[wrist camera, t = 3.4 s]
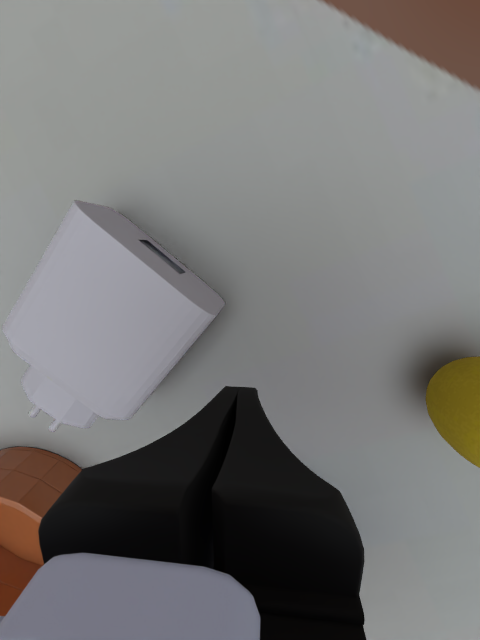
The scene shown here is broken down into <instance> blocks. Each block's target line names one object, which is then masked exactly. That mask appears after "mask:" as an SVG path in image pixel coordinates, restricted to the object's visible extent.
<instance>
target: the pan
mask: <svg viewBox="0 0 480 640" xmlns="http://www.w3.org/2000/svg"><path fill="white" fill-rule="evenodd" d="M81 471H82V469H81V468H79V467H78V466H77V465H75V464H74V463H72V462H70V461H69V460H67V459H65V458H63V457H61V456H59V455H57V454H54V453H52V452H49V451H46V450H42V449H38V448H31V447H11V448H6V449H2V450H0V616H6V614H7V613H8V612H9V610H10V609H11V607H12V606H13V604H14V603H15V602H16V600H17V599H18V597H19V596H20V595H21V593H22V592H23V590H24V589H25V588H26V586H27V585H28V583H29V582H30V580H31V579H32V578H33V576H34V575H35V573H36V572H37V571H38V569H40V568H41V567H42V566H43V565H44V561H43V557H42V553H41V549H40V545H39V534H38V530H39V526H40V522H41V519H42V518H43V517H44V515H45V514H46V513H47V511H48V510H49V509H50V508H51V506H52V505H53V504H54V503H55V501H56V500H57V499H58V498H59V497H60V495H61V494H62V493H63V492H64V490H65V489H66V488H67V487H68V486H69V484H70V483H71V482H72V481H73V480H74V479H75V477H76V476H77V475H78V474H79V473H80V472H81Z"/></svg>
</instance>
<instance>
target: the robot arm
mask: <svg viewBox="0 0 480 640" xmlns="http://www.w3.org/2000/svg"><path fill="white" fill-rule="evenodd" d="M38 534H39V545H40V549H41V553H42V557H43V561H44V565H43V566H42V567H41V568H40V569H38V571H37V572H36V573H35V575H34V576H33V578H32V579H31V580H30V582H29V583H28V585H27V586H26V588H25V589H24V590H23V592H22V593H21V595H20V596H19V597H18V599H17V600H16V602H15V603H14V604H13V606H12V607H11V609H10V610H9V612H8V613H7V614H6V616H0V640H366V637H365V633H364V628H363V625H364V621H365V620H364V612H363V608H362V605H361V601H360V597H359V592H360V586H361V579H362V573H363V567H364V548H363V544H362V541H361V537H360V534H359V531H358V529H357V527H356V524H355V522H354V519H353V517H352V515H351V513H350V511H349V508H348V506H347V504H346V502H345V500H344V499H343V497H342V495H341V493H340V491H339V490H337V489H336V488H334V487H333V486H332V485H330V484H329V483H327V482H326V481H324V480H323V479H322V478H320V477H319V476H317V475H316V474H315V473H313V472H312V471H311V470H310V469H309V468H307V467H306V466H305V465H304V464H303V463H302V462H301V461H300V460H299V459H298V458H297V457H296V456H295V455H294V454H293V453H292V452H291V451H290V450H289V449H288V448H287V446H286V445H285V444H284V443H283V441H282V440H281V439H280V437H279V436H278V435H277V433H276V432H275V430H274V429H273V427H272V425H271V424H270V422H269V420H268V419H267V417H266V415H265V413H264V410H263V408H262V406H261V404H260V401H259V398H258V393H257V390H256V388H249V387H229V386H225V387H224V388H223V389H222V390H221V391H220V392H219V393H218V394H217V395H216V396H215V397H214V398H213V399H212V400H211V401H210V402H209V403H208V404H207V405H206V406H205V407H204V408H203V409H202V410H201V411H199V412H198V413H197V414H196V415H195V416H193V417H192V418H191V419H190V420H188V421H187V422H186V423H184V424H183V425H182V426H180V427H179V428H177V429H175V430H174V431H172V432H171V433H169V434H167V435H166V436H164V437H162V438H160V439H158V440H156V441H154V442H153V443H151V444H149V445H147V446H145V447H142V448H140V449H138V450H136V451H133V452H131V453H129V454H126V455H124V456H121V457H118V458H116V459H113V460H110V461H107V462H104V463H101V464H98V465H95V466H91V467H88V468H85V469H83V470H82V471H81V472H80V473H79V474H78V475H77V476H76V477H75V479H74V480H73V481H72V482H71V483H70V484H69V486H68V487H67V488H66V489H65V490H64V492H63V493H62V494H61V495H60V497H59V498H58V499H57V500H56V501H55V503H54V504H53V505H52V506H51V508H50V509H49V510H48V511H47V513H46V514H45V515H44V517H43V518H42V519H41V522H40V526H39V530H38Z"/></svg>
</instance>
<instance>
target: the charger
mask: <svg viewBox="0 0 480 640" xmlns="http://www.w3.org/2000/svg"><path fill="white" fill-rule="evenodd" d="M224 305H225V302H224V300H223V299H222V298H221V297H220V296H219V295H218V294H217V293H216V292H215V291H214V290H213V289H212V288H210V287H209V286H208V285H207V284H206V283H205V282H203V281H202V280H201V279H200V278H199V277H197V276H196V275H195V274H194V273H193V272H191V271H190V270H189V269H188V268H187V267H185V266H184V265H183V264H182V263H181V262H179V261H178V260H177V259H176V258H175V257H173V256H172V255H171V254H170V253H169V252H167V251H166V250H165V249H164V248H163V247H161V246H160V245H159V244H158V243H156V242H155V241H154V240H153V239H152V238H150V237H149V236H148V235H147V234H146V233H144V232H143V231H142V230H141V229H140V228H138V227H137V226H136V225H135V224H133V223H132V222H131V221H130V220H128V219H127V218H126V217H124V216H123V215H121V214H120V213H118V212H117V211H115V210H114V209H112V208H109V207H105V206H101V205H96V204H92V203H87V202H82V201H78V200H74V202H73V203H72V205H71V207H70V209H69V210H68V212H67V214H66V216H65V217H64V219H63V221H62V223H61V224H60V226H59V228H58V230H57V231H56V233H55V235H54V237H53V238H52V240H51V242H50V244H49V245H48V247H47V249H46V251H45V252H44V254H43V256H42V258H41V259H40V261H39V263H38V265H37V266H36V268H35V270H34V272H33V273H32V275H31V277H30V279H29V281H28V282H27V284H26V286H25V288H24V289H23V291H22V293H21V295H20V296H19V298H18V300H17V302H16V303H15V305H14V307H13V309H12V310H11V312H10V314H9V316H8V317H7V319H6V321H5V323H4V324H3V328H2V330H3V332H4V334H5V336H6V338H7V340H8V342H9V344H10V346H11V348H12V350H13V352H14V353H15V354H17V355H18V356H19V357H20V358H22V359H23V360H24V361H26V362H27V363H28V364H30V366H29V367H28V369H27V370H26V372H25V373H24V375H23V377H22V380H21V385H22V387H23V389H24V391H25V393H26V395H27V397H28V399H29V401H31V402H32V403H33V404H34V406H33V407H32V409H31V410H30V412H29V413H28V414H29V416H30V417H36V415H37V414H38V413H39V411H40V410H41V409H42V410H43V411H44V412H46V413H47V414H48V415H50V416H51V417H52V418H54V419H55V420H54V421H53V422H52V424H51V425H50V426H49V431H51V432H55V431H56V430H57V428H58V427H59V426H60V424H61V423H63V424H67V425H71V426H75V427H79V428H90V427H91V425H92V424H93V423H94V421H95V420H96V419H97V418H98V416H100V417H102V418H105V419H117V420H128V419H130V418H131V417H132V416H133V415H134V414H135V413H136V411H137V410H138V409H139V408H140V407H141V405H142V404H143V403H144V402H145V401H146V399H147V398H148V397H149V396H150V395H151V393H152V392H153V391H154V390H155V389H156V388H157V386H158V385H159V384H160V383H161V382H162V380H163V379H164V378H165V377H166V376H167V374H168V373H169V372H170V371H171V370H172V368H173V367H174V366H175V365H176V364H177V362H178V361H179V360H180V359H181V358H182V356H183V355H184V354H185V353H186V352H187V350H188V349H189V348H190V347H191V346H192V344H193V343H194V342H195V341H196V340H197V339H198V337H199V336H200V335H201V334H202V333H203V331H204V330H205V329H206V328H207V327H208V325H209V324H210V323H211V322H212V321H213V319H214V318H215V317H216V316H217V314H218V313H219V312H220V310H221V309H222V308H223V306H224Z"/></svg>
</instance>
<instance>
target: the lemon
mask: <svg viewBox="0 0 480 640" xmlns="http://www.w3.org/2000/svg"><path fill="white" fill-rule="evenodd" d="M426 404H427V409H428V413H429V416H430V418H431V420H432V422H433V423H434V425H435V427H436V429H437V431H438V432H439V433H440V435H441V436H442V437H443V438H444V439H445V440H446V441H447V442H448V443H449V444H450V445H451V446H452V447H453V448H454V449H455V450H456V451H457V452H458V453H459V454H460V455H461V456H463V457H464V458H465V459H467V460H468V461H470V462H471V463H472V464H474V465H476V466H477V467H479V468H480V357H466V358H462V359H458V360H455V361H452V362H450V363H448V364H446V365H444V366H443V367H442V368H440V369H439V370H438V371H437V372H436V373H435V374H434V376H433V377H432V378H431V380H430V382H429V384H428V387H427V391H426Z"/></svg>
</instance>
